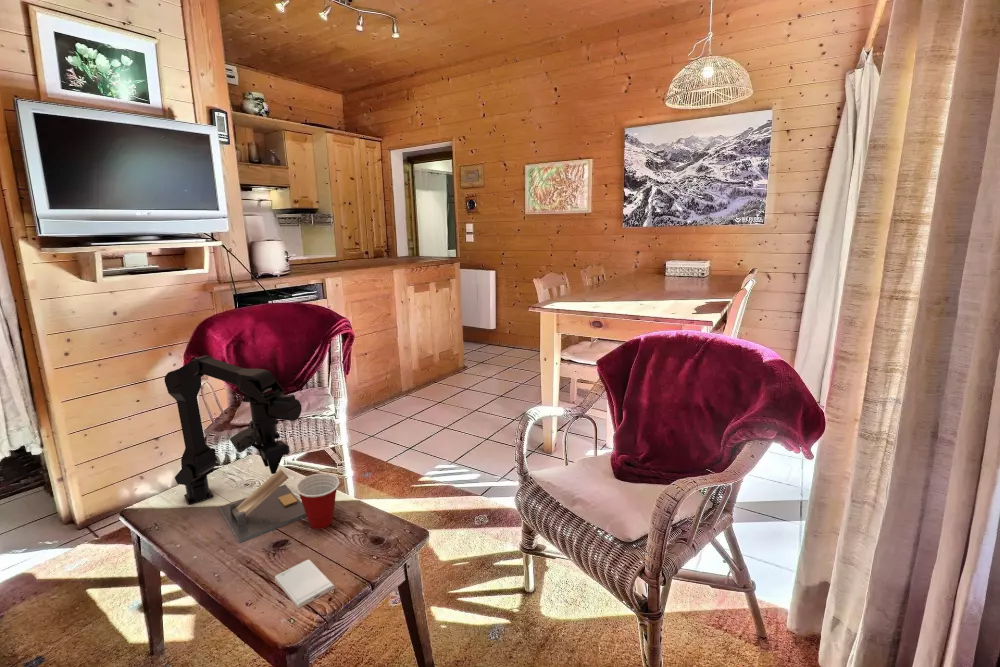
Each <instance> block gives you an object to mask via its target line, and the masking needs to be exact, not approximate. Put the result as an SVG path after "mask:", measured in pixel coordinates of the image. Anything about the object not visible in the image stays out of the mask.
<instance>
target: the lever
mask: <svg viewBox="0 0 1000 667" xmlns="http://www.w3.org/2000/svg"><path fill="white" fill-rule="evenodd" d="M288 479H289V476H288V475H287V474H286V473H285V472H284V471H283V470H282V469H281V468H278V469H277V471H276V473H275V474H272V475H271V476H270V477H269V478H268V479H267V480H266V481H264V482H263V483H262V484H261V485H260V486H259V487H258V488H257V489H256V490H254V491H253V492H252V493H251V494H250V495H248V496H247V497H248V498H247V497H246V498H247V499H245V500H244V501H243V502H242V503H241V504H240V505H239V506H238V507H236V508H234V509H233V510H232V513H233V515H234V516H235V518H236V514H237V513H240V512H242V511H244V512H245V515H246V516H247V515H248V514H249V513H250V512H251V511H252V510H254V509H255V508H256V507H257V506H258V505H259V504H260V503H261V502H262V501H264V500H265V499H266V498H267V497H268V496H269V495H270V494H271V493H272V492H274V491H275V490H276V489H277V488H278V487H279V486H282V485H283V484H284V483H285V482H286V481H287V480H288ZM236 520H237V519H236Z"/></svg>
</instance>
